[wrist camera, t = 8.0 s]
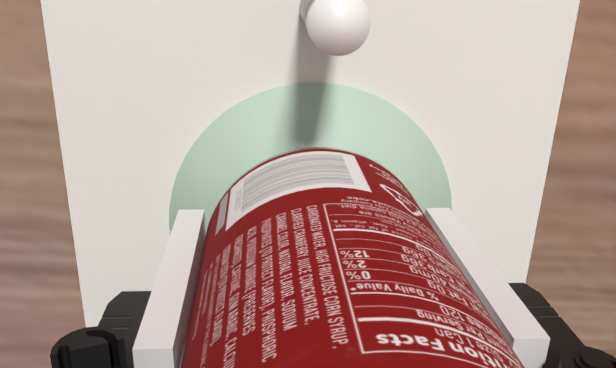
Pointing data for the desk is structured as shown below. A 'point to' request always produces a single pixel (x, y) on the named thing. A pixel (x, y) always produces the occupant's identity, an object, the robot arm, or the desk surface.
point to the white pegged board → (299, 111)
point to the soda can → (332, 275)
